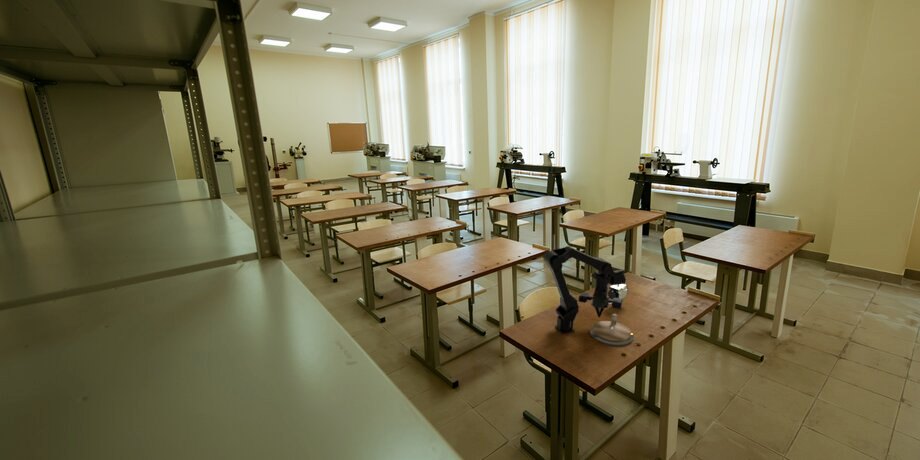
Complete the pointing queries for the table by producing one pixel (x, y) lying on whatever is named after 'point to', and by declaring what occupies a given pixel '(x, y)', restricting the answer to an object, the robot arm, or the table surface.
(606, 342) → the dial housing
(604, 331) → the dial
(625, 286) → the pneumatic valve
